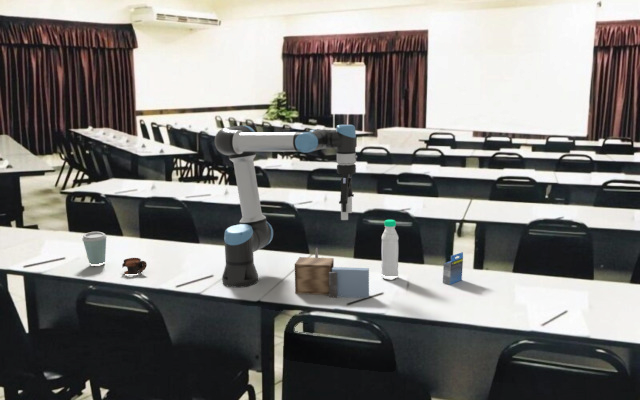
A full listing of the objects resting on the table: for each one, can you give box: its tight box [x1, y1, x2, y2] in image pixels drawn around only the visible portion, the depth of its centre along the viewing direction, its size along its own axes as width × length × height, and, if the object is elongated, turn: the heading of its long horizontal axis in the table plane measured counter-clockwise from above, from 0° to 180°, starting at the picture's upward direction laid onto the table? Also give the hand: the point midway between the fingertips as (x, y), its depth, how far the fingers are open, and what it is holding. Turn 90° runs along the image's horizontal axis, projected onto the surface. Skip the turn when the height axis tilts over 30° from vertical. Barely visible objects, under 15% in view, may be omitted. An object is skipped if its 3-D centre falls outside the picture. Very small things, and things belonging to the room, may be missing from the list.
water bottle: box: [380, 219, 399, 277], centre depth 258 cm, size 7×7×25 cm
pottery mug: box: [121, 257, 148, 275], centre depth 272 cm, size 12×10×8 cm
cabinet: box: [294, 256, 338, 299], centre depth 243 cm, size 17×13×12 cm
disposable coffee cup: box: [82, 231, 107, 264], centre depth 284 cm, size 11×11×15 cm
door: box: [332, 266, 370, 299], centre depth 238 cm, size 14×3×11 cm, turn 81°
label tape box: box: [442, 251, 464, 286], centre depth 253 cm, size 9×4×12 cm, turn 134°
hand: (346, 216), depth 248 cm, fingers open, 13 cm apart
